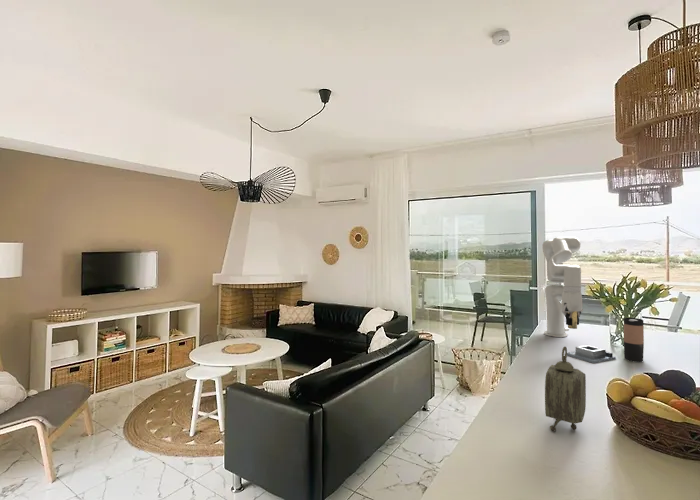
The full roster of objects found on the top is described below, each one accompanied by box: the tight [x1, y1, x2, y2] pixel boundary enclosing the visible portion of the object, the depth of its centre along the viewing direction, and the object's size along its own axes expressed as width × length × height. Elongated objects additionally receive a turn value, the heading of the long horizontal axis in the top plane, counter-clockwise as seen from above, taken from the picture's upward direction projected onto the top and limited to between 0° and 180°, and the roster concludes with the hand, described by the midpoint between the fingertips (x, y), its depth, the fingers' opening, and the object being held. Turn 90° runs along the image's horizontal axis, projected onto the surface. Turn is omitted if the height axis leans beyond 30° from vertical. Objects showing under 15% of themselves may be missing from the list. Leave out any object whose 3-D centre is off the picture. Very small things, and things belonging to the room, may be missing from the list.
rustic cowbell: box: [544, 346, 587, 432], centre depth 108 cm, size 14×9×25 cm, turn 141°
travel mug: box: [623, 317, 645, 363], centre depth 171 cm, size 8×8×20 cm
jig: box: [567, 344, 617, 364], centre depth 176 cm, size 16×14×4 cm
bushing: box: [567, 311, 578, 330], centre depth 181 cm, size 4×4×9 cm
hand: (572, 324), depth 181 cm, fingers closed on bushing, 4 cm apart
